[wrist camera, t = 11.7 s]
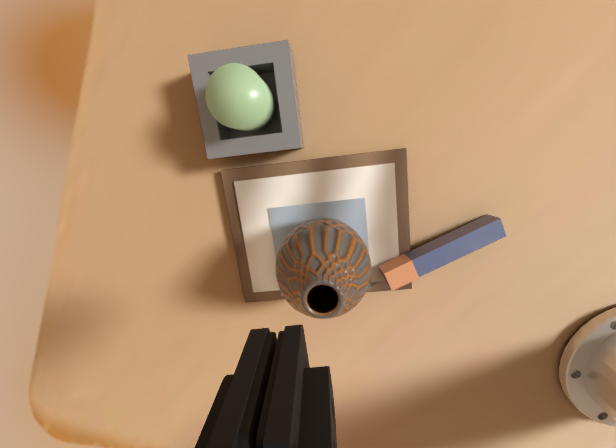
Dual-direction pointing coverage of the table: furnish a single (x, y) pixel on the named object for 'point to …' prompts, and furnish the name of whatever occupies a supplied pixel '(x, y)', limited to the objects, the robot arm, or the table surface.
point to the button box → (280, 79)
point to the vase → (323, 268)
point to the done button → (239, 98)
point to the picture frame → (317, 211)
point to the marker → (441, 251)
